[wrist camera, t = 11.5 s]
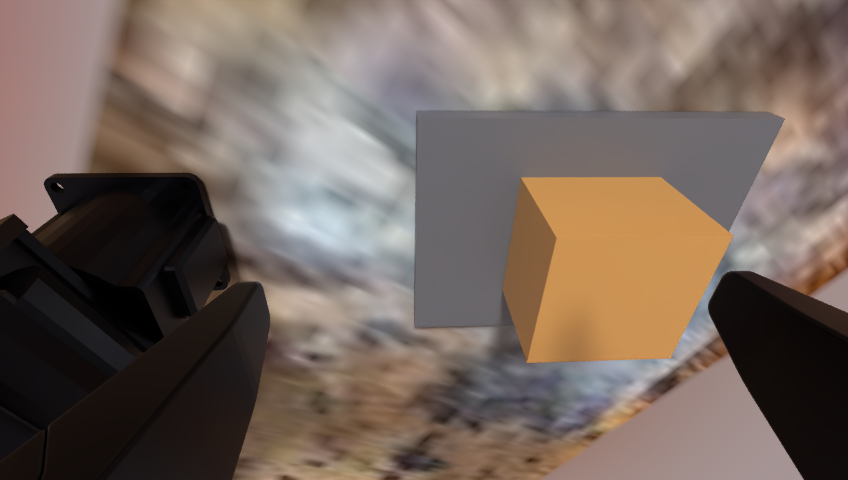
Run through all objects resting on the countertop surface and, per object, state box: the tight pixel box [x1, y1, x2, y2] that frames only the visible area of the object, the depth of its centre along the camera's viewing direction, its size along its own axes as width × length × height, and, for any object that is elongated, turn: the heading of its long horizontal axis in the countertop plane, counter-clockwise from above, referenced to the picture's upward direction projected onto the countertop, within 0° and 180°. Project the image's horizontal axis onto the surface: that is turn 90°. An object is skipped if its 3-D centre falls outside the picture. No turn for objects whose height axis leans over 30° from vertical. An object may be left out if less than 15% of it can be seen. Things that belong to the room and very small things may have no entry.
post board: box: [414, 111, 785, 328], centre depth 20 cm, size 16×12×4 cm
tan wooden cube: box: [502, 177, 733, 363], centre depth 19 cm, size 7×7×5 cm
